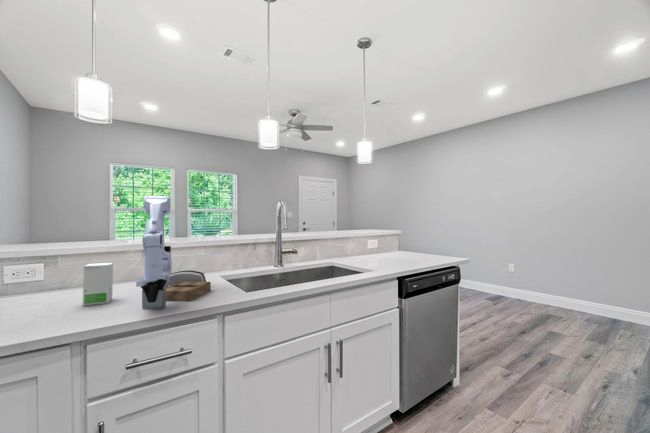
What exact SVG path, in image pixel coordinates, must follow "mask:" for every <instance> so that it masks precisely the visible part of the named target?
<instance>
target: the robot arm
mask: <svg viewBox="0 0 650 433" xmlns="http://www.w3.org/2000/svg"><path fill="white" fill-rule="evenodd" d="M171 203H172V202H171V197H170V196H169V195H147V194H145V196H144V197H143V208H144V210H145V213H146V214H147V215H149V217H150V218H149V219H148V220H147V221H146V225H145V234H143V235H142V241H141V242H142V247H143V254H144V256H143V257H144V276H143V278H141V279H139V280H136V281H135V283H136V286H135V287H138V288H141V290H143V291H144V293H145V295H146V298H147V301H148V302H149V303H153V302H154V301H155V292H156V289H164V288H166V287H169V286H170V285H169V282H168V278H169V273H168V272H169V271H170V270H171V271H172V266H173V264H172V262H173V261H172V254H171V255H170V253H168V252H166V251H165V250H164V246H165V218H166V216H168V215H170V213H171V206H172V205H171ZM162 257H166V258H162Z"/></svg>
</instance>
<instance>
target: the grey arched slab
mask: <svg viewBox="0 0 650 433" xmlns="http://www.w3.org/2000/svg"><path fill="white" fill-rule="evenodd" d="M182 281H185V282H208V281H207V279H206V276H205V272H204V271H203V270H202V271H201V270H197V269H180V270H177V271H174V272H171V275H170V277H169V286H172V285H174V284H177V283H179V282H182Z"/></svg>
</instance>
